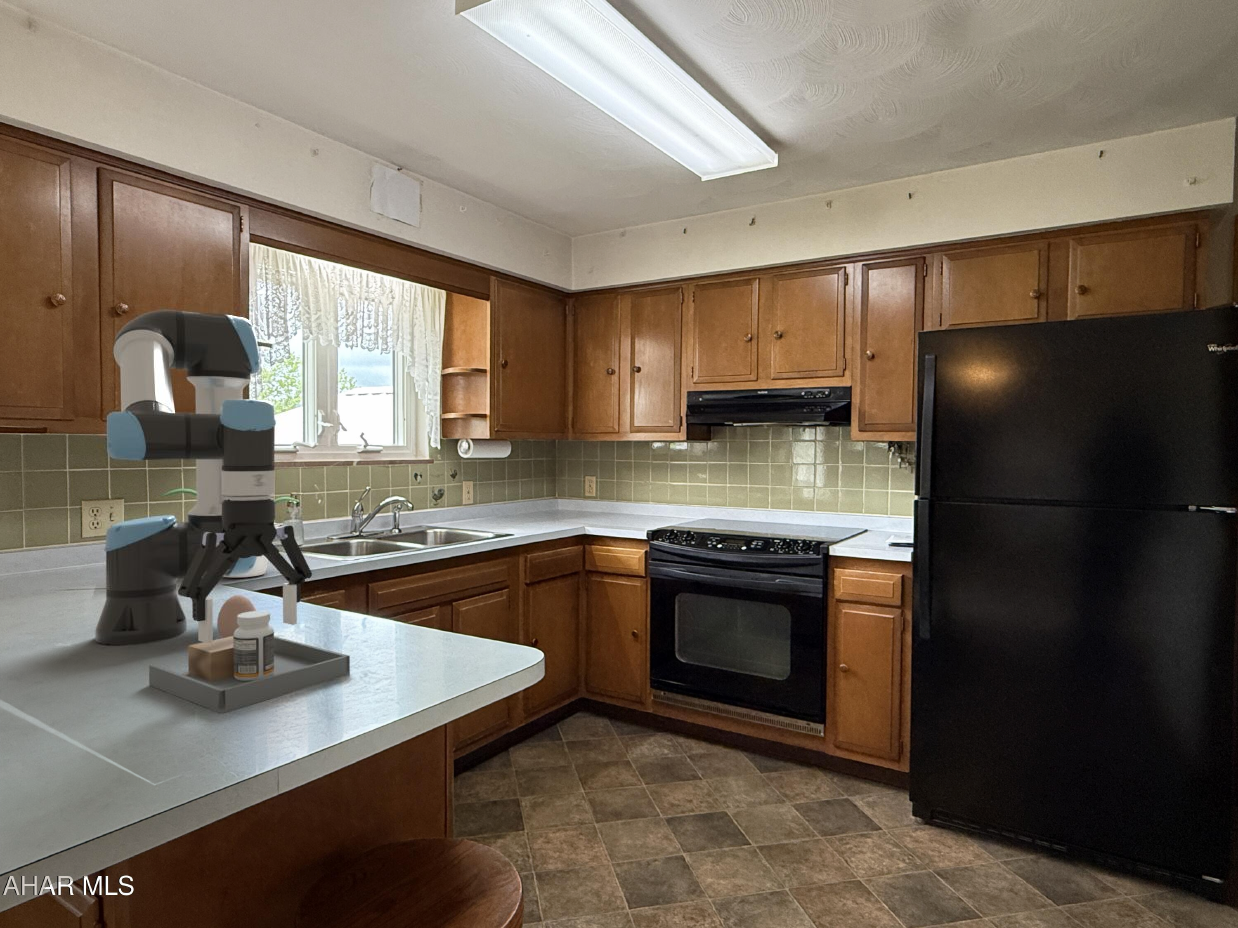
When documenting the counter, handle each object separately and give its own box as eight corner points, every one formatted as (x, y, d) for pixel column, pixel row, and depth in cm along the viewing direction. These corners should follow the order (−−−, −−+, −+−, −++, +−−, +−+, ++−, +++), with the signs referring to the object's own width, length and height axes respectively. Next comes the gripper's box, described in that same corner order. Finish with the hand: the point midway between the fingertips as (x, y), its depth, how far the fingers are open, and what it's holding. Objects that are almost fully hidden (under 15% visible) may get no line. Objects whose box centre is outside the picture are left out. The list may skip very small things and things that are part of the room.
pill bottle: (261, 668, 119) (261, 608, 118) (281, 675, 115) (281, 613, 115) (226, 677, 114) (226, 614, 114) (245, 684, 111) (245, 619, 110)
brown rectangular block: (188, 673, 116) (188, 645, 116) (249, 658, 124) (249, 632, 124) (211, 681, 112) (211, 652, 112) (273, 665, 120) (272, 638, 120)
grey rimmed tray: (149, 684, 112) (149, 665, 112) (275, 653, 129) (275, 636, 129) (221, 713, 100) (220, 690, 100) (349, 674, 118) (349, 655, 117)
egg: (209, 648, 132) (209, 598, 132) (229, 639, 139) (229, 591, 139) (246, 648, 132) (245, 599, 132) (264, 639, 139) (263, 591, 139)
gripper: (176, 504, 102) (178, 654, 102) (333, 494, 123) (333, 619, 123) (151, 501, 106) (152, 645, 107) (306, 493, 127) (307, 613, 127)
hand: (249, 632), depth 115 cm, fingers open, 13 cm apart
